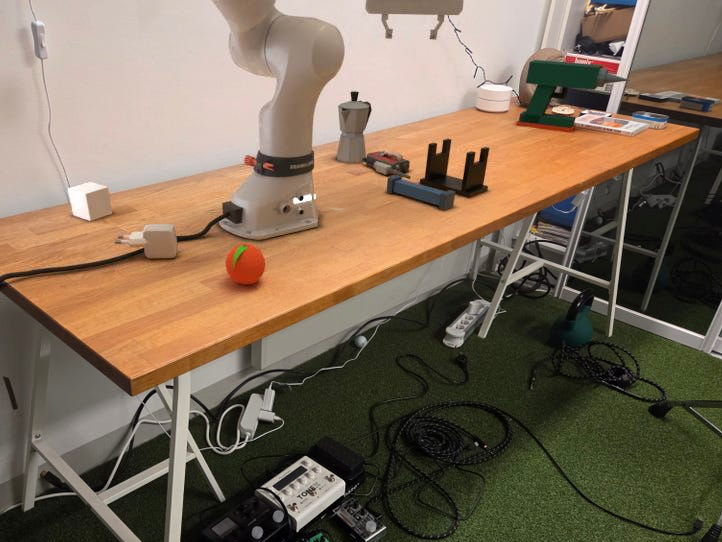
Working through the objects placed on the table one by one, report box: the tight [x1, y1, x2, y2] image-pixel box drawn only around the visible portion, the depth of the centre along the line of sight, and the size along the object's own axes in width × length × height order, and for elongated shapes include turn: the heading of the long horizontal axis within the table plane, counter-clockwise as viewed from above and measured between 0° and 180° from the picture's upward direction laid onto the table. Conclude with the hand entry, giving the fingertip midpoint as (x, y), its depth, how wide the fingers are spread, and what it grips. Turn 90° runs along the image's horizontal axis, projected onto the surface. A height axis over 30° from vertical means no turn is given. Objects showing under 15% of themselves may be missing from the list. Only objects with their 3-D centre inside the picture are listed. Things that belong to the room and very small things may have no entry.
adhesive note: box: [67, 181, 113, 222], centre depth 134 cm, size 6×6×6 cm
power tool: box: [515, 59, 632, 133], centre depth 202 cm, size 32×7×20 cm, turn 58°
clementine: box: [225, 243, 266, 285], centre depth 105 cm, size 8×7×7 cm
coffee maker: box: [336, 90, 373, 164], centre depth 170 cm, size 15×9×18 cm, turn 143°
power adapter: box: [114, 223, 178, 259], centre depth 115 cm, size 11×5×6 cm, turn 93°
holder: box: [418, 138, 490, 199], centre depth 151 cm, size 8×15×10 cm, turn 44°
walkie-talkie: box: [362, 150, 411, 180], centre depth 163 cm, size 9×4×20 cm
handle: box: [386, 175, 456, 211], centre depth 144 cm, size 4×17×4 cm, turn 44°
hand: (410, 38), depth 131 cm, fingers open, 8 cm apart
